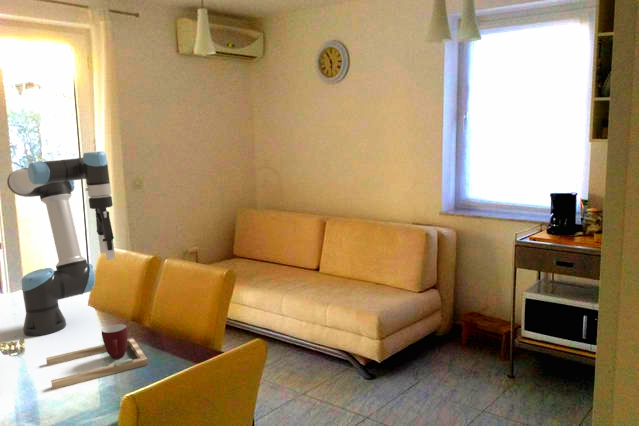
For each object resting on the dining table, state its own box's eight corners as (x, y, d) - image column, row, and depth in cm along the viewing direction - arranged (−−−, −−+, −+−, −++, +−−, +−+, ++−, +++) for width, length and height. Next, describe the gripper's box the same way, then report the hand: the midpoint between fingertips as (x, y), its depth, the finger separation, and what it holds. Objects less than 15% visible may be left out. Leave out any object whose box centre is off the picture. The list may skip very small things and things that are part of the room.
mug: (132, 360, 185) (128, 331, 184) (106, 366, 182) (102, 336, 180) (129, 349, 195) (125, 322, 193) (104, 355, 191) (100, 327, 190)
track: (47, 363, 187) (45, 356, 187) (133, 343, 201) (132, 336, 200) (52, 389, 168) (51, 381, 167) (147, 364, 181) (146, 356, 181)
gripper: (83, 195, 205) (91, 251, 208) (93, 200, 183) (102, 264, 186) (105, 192, 208) (112, 248, 211) (117, 197, 187) (125, 260, 190)
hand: (107, 255), depth 199 cm, fingers open, 13 cm apart
